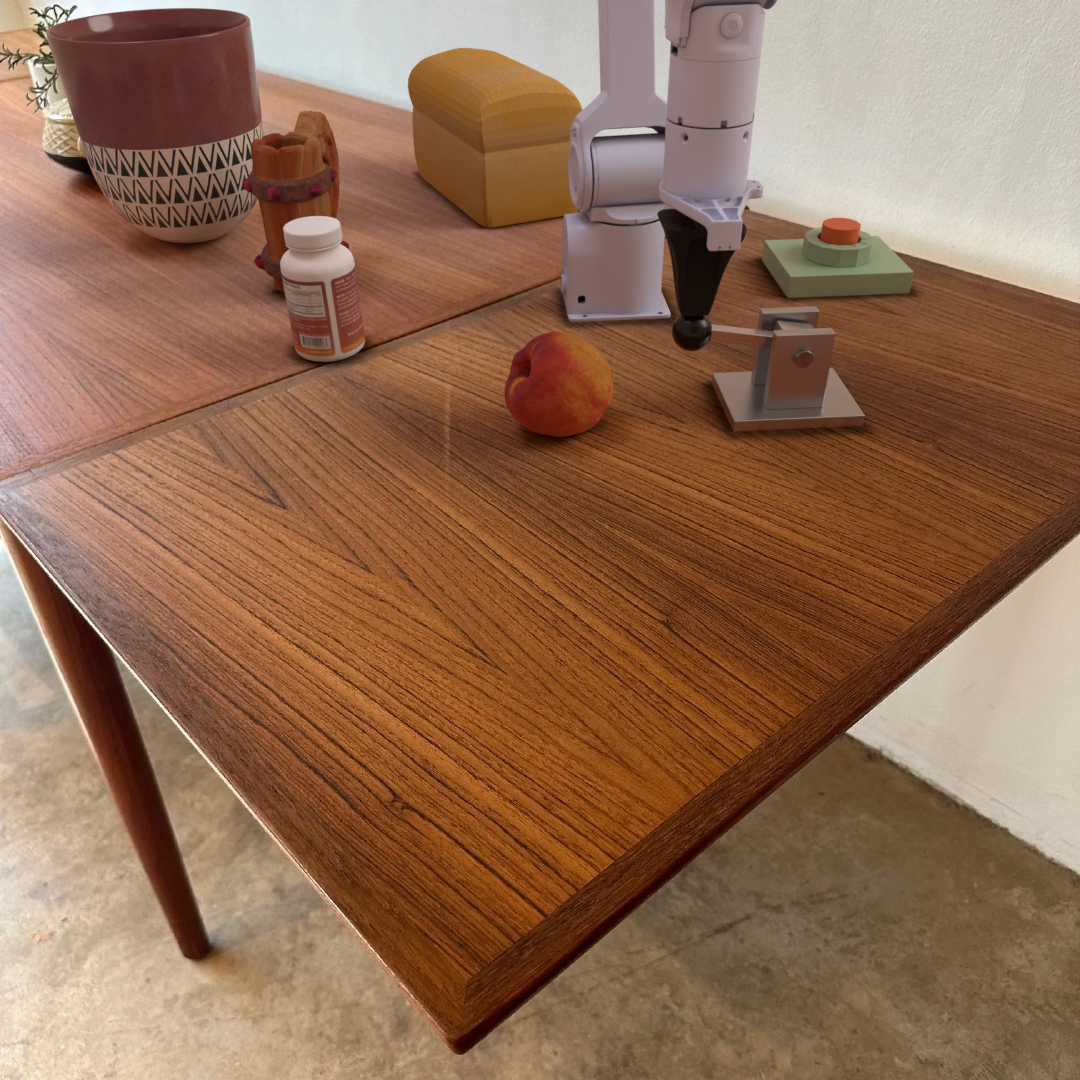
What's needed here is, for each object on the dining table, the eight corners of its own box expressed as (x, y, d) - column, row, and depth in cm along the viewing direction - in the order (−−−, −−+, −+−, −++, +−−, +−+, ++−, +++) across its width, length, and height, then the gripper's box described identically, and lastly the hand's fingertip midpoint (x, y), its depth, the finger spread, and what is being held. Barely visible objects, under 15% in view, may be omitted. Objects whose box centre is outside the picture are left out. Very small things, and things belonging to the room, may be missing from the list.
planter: (65, 254, 109) (0, 35, 96) (181, 200, 123) (137, 4, 111) (214, 277, 103) (165, 48, 90) (317, 217, 117) (287, 13, 104)
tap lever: (671, 355, 74) (680, 318, 73) (664, 338, 77) (673, 301, 75) (810, 371, 76) (822, 334, 74) (799, 353, 78) (811, 318, 77)
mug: (328, 308, 96) (304, 145, 87) (249, 302, 97) (218, 141, 88) (378, 254, 108) (362, 105, 99) (307, 249, 109) (284, 102, 100)
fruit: (509, 404, 80) (506, 310, 76) (610, 405, 80) (614, 310, 75) (503, 456, 74) (499, 357, 69) (613, 456, 74) (617, 357, 69)
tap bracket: (732, 435, 76) (743, 346, 72) (711, 385, 82) (719, 301, 78) (862, 429, 76) (880, 340, 72) (830, 380, 83) (845, 296, 79)
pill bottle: (353, 328, 92) (337, 207, 86) (375, 355, 88) (360, 229, 81) (287, 342, 90) (265, 219, 84) (305, 370, 86) (284, 242, 79)
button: (826, 248, 97) (829, 230, 96) (815, 235, 100) (818, 218, 99) (862, 247, 97) (865, 229, 96) (850, 234, 100) (853, 216, 99)
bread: (584, 213, 117) (586, 74, 108) (482, 230, 113) (475, 87, 104) (504, 160, 135) (500, 37, 126) (413, 173, 131) (402, 47, 122)
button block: (787, 298, 97) (793, 258, 94) (761, 260, 105) (766, 222, 102) (909, 293, 97) (918, 253, 95) (874, 256, 105) (881, 218, 103)
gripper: (800, 146, 60) (772, 353, 69) (744, 91, 72) (725, 273, 80) (684, 150, 60) (669, 357, 68) (646, 94, 72) (637, 276, 80)
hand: (693, 312), depth 74 cm, fingers closed, pressing on tap lever
